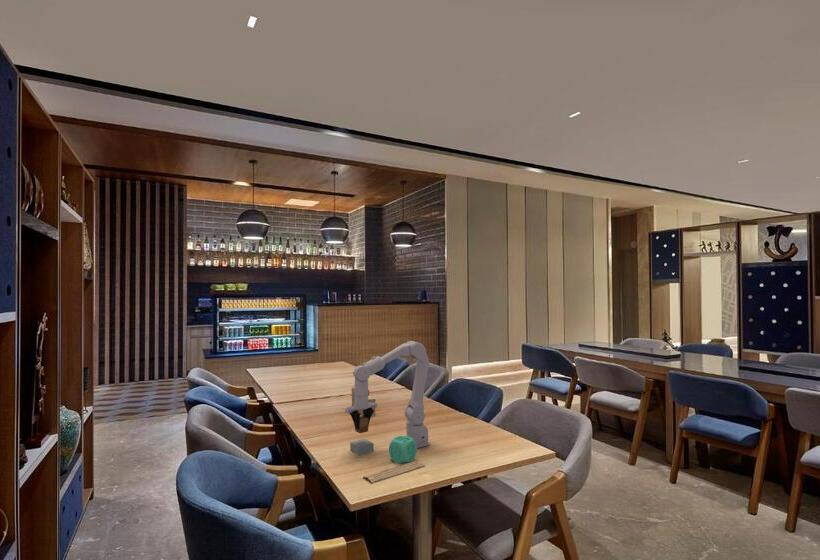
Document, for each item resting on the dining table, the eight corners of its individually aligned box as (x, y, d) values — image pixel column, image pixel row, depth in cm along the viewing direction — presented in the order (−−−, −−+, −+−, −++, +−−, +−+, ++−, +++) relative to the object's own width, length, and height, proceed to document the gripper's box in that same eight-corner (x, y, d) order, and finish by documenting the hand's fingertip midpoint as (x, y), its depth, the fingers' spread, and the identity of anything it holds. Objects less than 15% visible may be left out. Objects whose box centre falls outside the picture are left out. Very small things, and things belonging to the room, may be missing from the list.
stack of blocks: (375, 415, 229) (375, 392, 229) (364, 417, 226) (364, 394, 226) (361, 407, 248) (361, 385, 248) (351, 408, 245) (351, 386, 245)
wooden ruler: (371, 485, 145) (371, 480, 145) (361, 479, 151) (361, 473, 151) (425, 468, 159) (425, 463, 160) (413, 462, 165) (413, 458, 165)
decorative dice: (401, 454, 172) (401, 434, 172) (417, 459, 167) (417, 438, 167) (388, 460, 166) (388, 439, 166) (404, 465, 161) (403, 444, 161)
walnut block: (368, 431, 177) (368, 418, 177) (360, 433, 175) (360, 419, 175) (363, 429, 180) (363, 416, 180) (355, 431, 178) (355, 417, 178)
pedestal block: (373, 451, 176) (373, 443, 177) (359, 455, 172) (359, 446, 172) (364, 447, 182) (364, 438, 182) (350, 450, 178) (350, 442, 178)
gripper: (370, 390, 186) (371, 422, 185) (341, 395, 177) (341, 429, 176) (379, 393, 180) (380, 426, 180) (350, 398, 171) (350, 433, 171)
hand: (361, 427), depth 177 cm, fingers closed on walnut block, 4 cm apart
